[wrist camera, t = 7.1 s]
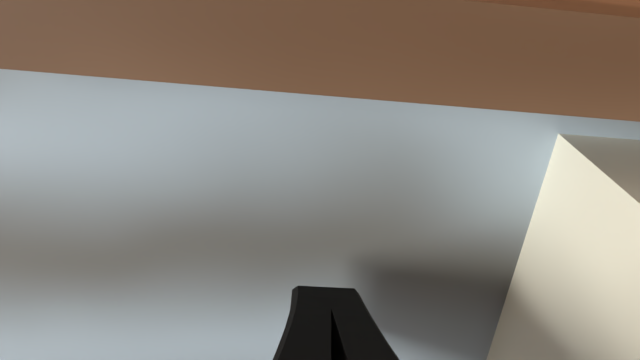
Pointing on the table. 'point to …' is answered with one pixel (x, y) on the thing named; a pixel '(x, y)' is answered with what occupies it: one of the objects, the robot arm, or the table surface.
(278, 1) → the bay
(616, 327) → the cream chamfered box
